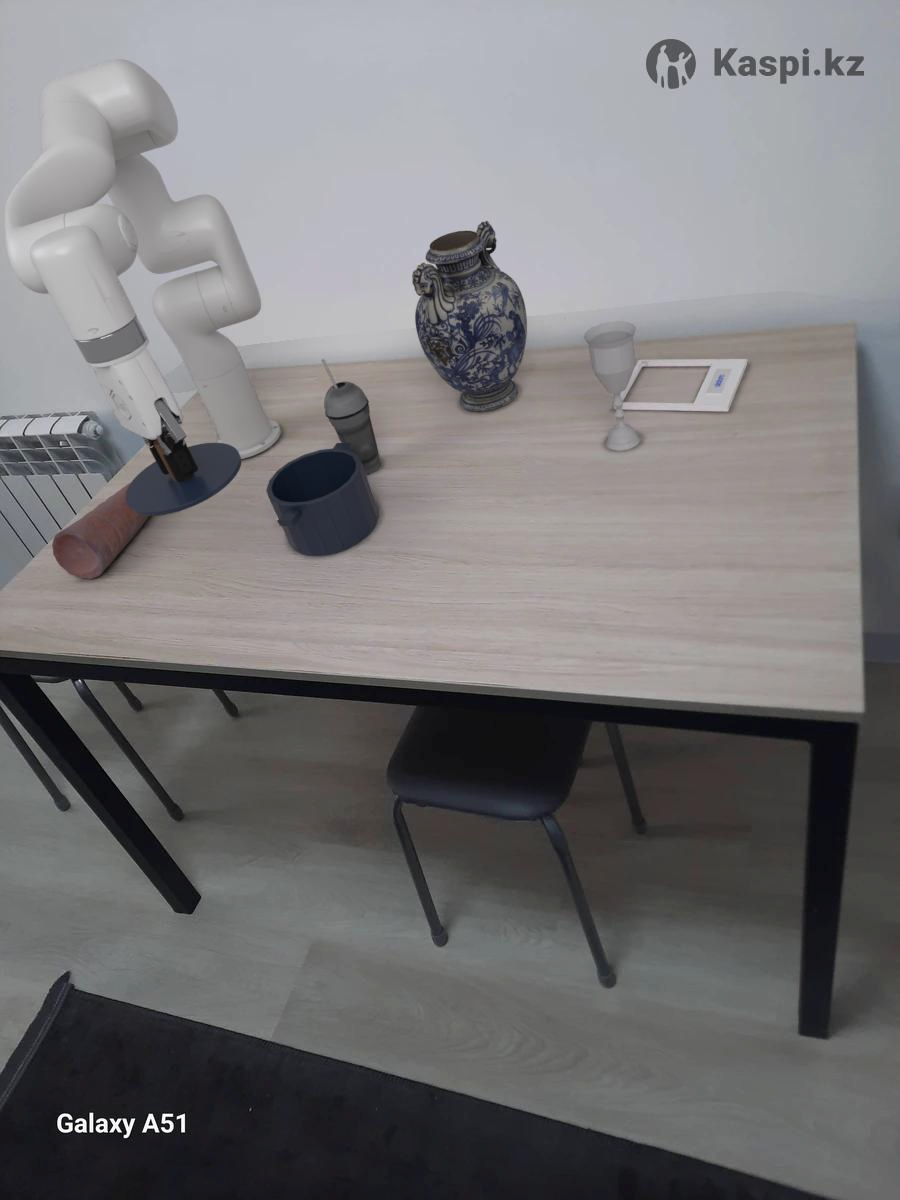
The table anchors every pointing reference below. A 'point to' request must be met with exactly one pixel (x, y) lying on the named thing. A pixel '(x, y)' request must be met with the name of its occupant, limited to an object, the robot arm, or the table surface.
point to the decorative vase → (471, 318)
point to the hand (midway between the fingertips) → (180, 471)
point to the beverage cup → (352, 420)
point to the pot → (324, 501)
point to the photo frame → (712, 392)
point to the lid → (169, 495)
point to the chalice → (614, 372)
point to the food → (97, 537)
